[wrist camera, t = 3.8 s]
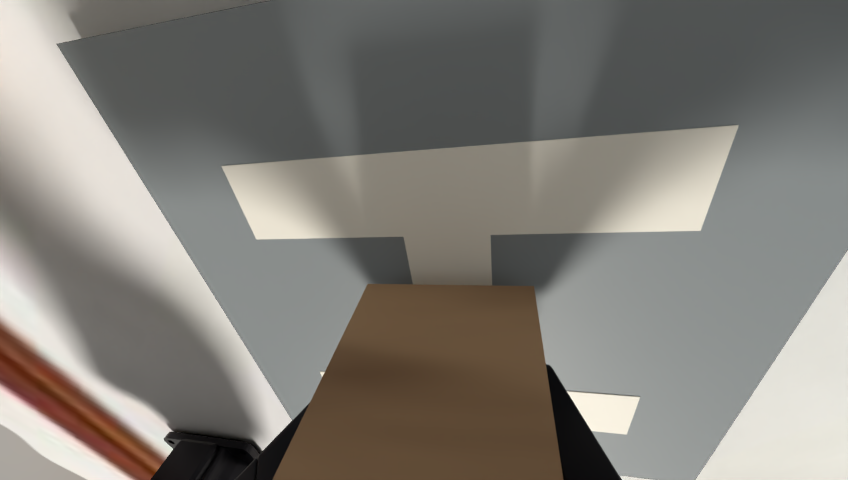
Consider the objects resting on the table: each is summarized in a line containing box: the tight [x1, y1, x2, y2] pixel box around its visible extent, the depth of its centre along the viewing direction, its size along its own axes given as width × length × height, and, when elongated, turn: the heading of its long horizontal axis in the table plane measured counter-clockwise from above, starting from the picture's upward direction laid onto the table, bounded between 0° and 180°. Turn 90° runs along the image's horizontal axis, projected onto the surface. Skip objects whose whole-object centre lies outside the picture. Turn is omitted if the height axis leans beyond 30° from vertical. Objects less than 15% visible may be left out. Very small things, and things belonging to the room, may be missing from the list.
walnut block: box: [273, 284, 563, 480], centre depth 8 cm, size 4×4×5 cm
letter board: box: [57, 0, 848, 480], centre depth 11 cm, size 18×18×1 cm
